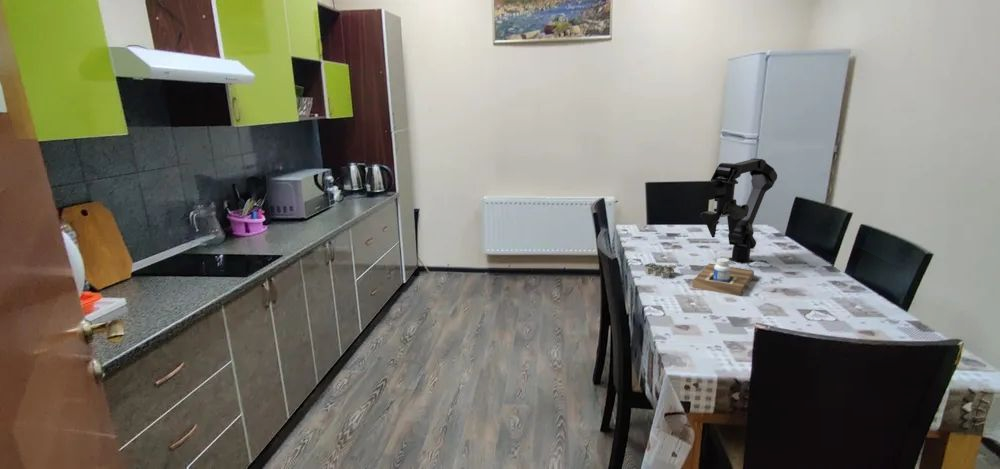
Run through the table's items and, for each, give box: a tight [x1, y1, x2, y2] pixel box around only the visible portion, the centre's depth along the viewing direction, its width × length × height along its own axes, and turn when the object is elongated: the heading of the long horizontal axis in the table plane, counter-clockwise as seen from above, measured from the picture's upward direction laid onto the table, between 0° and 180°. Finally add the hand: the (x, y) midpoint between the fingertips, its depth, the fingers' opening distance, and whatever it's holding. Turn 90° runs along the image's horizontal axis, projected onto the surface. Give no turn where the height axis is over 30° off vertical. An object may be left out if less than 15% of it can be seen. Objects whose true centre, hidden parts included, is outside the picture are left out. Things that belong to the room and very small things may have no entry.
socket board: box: [691, 263, 755, 297], centre depth 182 cm, size 22×16×3 cm
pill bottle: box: [713, 257, 732, 283], centre depth 178 cm, size 6×5×10 cm
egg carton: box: [644, 262, 677, 279], centre depth 192 cm, size 11×8×4 cm
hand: (721, 235), depth 194 cm, fingers open, 9 cm apart
